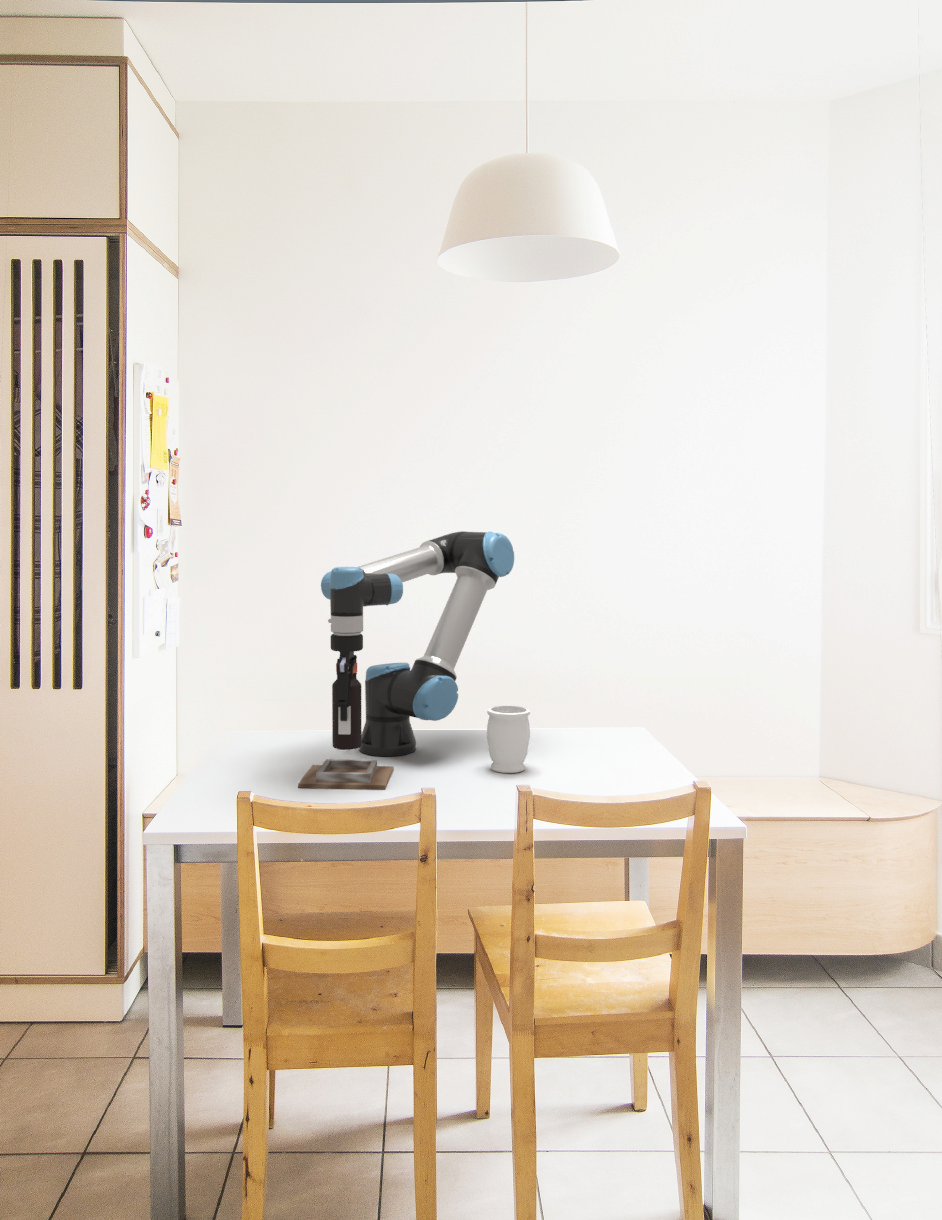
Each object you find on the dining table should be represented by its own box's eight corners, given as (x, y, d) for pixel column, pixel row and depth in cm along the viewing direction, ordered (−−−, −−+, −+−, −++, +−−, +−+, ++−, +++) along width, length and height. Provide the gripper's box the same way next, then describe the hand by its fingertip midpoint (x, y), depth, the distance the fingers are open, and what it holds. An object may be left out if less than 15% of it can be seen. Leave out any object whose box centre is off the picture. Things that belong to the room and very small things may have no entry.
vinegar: (360, 750, 215) (360, 665, 213) (331, 750, 214) (330, 665, 212) (362, 743, 221) (361, 660, 219) (333, 743, 221) (333, 660, 219)
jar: (534, 765, 231) (535, 707, 230) (522, 776, 222) (523, 715, 220) (493, 761, 235) (494, 703, 233) (480, 772, 225) (481, 711, 224)
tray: (393, 770, 226) (393, 758, 226) (385, 789, 210) (385, 776, 210) (312, 768, 227) (312, 756, 227) (298, 787, 211) (298, 775, 211)
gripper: (338, 628, 225) (338, 721, 227) (322, 638, 206) (323, 740, 208) (368, 628, 225) (368, 721, 227) (356, 638, 205) (356, 740, 208)
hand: (347, 730), depth 217 cm, fingers closed on vinegar, 6 cm apart
